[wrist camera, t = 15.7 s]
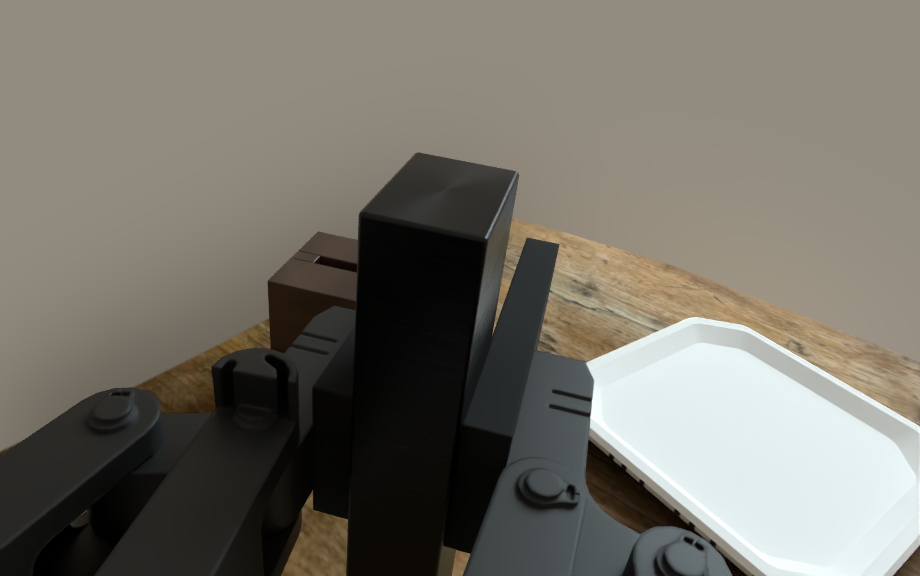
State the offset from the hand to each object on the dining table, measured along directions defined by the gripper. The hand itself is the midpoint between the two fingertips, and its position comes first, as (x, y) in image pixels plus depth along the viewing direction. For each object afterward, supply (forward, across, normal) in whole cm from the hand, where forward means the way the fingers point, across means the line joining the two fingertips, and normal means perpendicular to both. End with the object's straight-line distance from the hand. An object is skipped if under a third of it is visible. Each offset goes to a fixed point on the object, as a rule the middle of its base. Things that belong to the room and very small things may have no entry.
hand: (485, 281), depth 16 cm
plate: (+22, +16, -22) cm, 35 cm away
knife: (-6, 0, -15) cm, 16 cm away
